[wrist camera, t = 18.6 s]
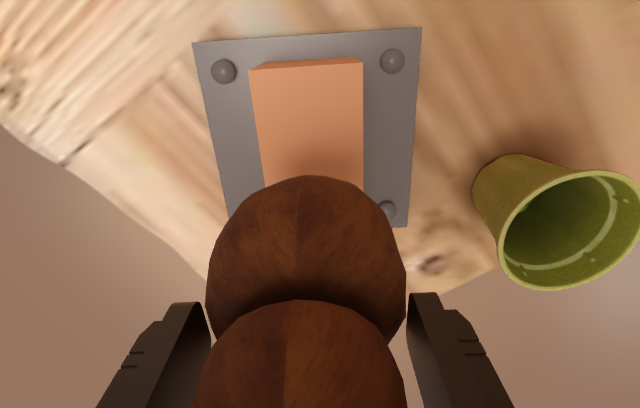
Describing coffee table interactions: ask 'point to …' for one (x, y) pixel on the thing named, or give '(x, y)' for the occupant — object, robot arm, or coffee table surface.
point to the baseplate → (378, 107)
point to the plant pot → (557, 220)
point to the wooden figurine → (304, 301)
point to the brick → (309, 118)
